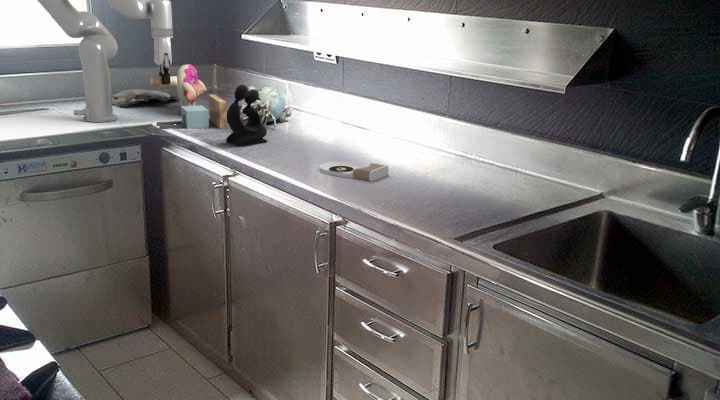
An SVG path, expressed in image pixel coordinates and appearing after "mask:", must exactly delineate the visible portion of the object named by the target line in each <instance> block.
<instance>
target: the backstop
mask: <svg viewBox="0 0 720 400" xmlns="http://www.w3.org/2000/svg"><path fill="white" fill-rule="evenodd" d="M208 106H209V107H208V108H209V109H208V115H209V121H211V122H212V123H213V124H214V125H215V126H216V127H218V128H219V129H221V130H223V129H224V130H225V129H228V122H227V101H226V100H224V99H223V98H221V97H220V96H218V95H217V94H215V93H213V94H211V93H210V94H208Z"/></svg>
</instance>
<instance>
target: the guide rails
mask: <svg viewBox="0 0 720 400" xmlns="http://www.w3.org/2000/svg"><path fill="white" fill-rule="evenodd" d="M174 124H176V125H174ZM156 127H159V130H170V129H169V128H174V129H185V128H186V124H185V125H184V124H182V120H173V121H171V120H170V121H159V122H156Z"/></svg>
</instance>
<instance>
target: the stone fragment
mask: <svg viewBox="0 0 720 400" xmlns="http://www.w3.org/2000/svg"><path fill="white" fill-rule="evenodd" d="M152 98H153V99H154V98H155V99H157V100H158V102H161V103H163V102H168V101H169V100H170V99H171V100H175V101H178V102H181V101H180V99H179V97H178V95H177V94H176V93H173V92H170V93H169V92H168V93H167V92H162V91H159V90H149V89H148V90H145V89H136V88H132V89H123V90H121V91H119V92H117V93H116V94H112V105H113V104H114V105H115V107H117V108H120V109H121V108H122V109H127V108H129V106H130V107H131V106H132V105H137V104H138V102H141V101H144V102H149V101H150V99H152Z"/></svg>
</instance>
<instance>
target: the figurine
mask: <svg viewBox="0 0 720 400" xmlns="http://www.w3.org/2000/svg"><path fill="white" fill-rule="evenodd" d="M247 87H248V86H246V85H245V84H240V85H239V84H238V86H237V87H236V88H235V89H234V95H233V96H234V102H232V104H230V105H229V107H228V108H227V110H226V117H227V126H229V128H230V130H231V131H232V132H231V133H230V134H229V135H228V136H227V137H226V139H225V142H226V143H228V144H231V145H235V146H237V147H243V146H250V145H256V144H262V143H267V142H268V140H267V139H266V138H264V137H266V135H267V133H268V130H267V128H265V126H264V125H263V122H261V118H260V115H259V113H258V112H257V110H255V109H254V108H253V107H251V104H252V103H254V102H255V101H257V100H260V98H259V92H258V91H257V90H258V89H255V90H254V89H253V90H250V91H249V92H248V88H247ZM243 100H244V102H245V104H247V106H246V107H245V108H244V109H242V110H241V109H240V106H239V105H240V104H239V102H241V101H243ZM241 111H242V113H244V114H243V115H245V117H246V116H247V117H248V118H247V120H248V122H247V123H246V124H244V122H243V120H242V119H241V117H240V112H241Z"/></svg>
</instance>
